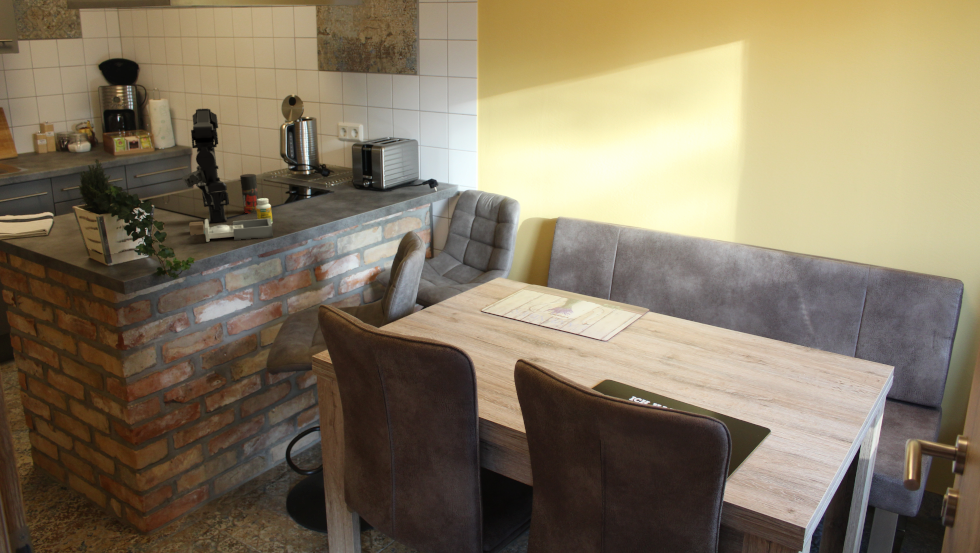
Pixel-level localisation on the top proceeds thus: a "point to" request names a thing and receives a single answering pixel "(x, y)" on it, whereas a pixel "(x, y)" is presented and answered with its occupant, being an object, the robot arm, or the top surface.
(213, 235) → the tray
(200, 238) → the top surface
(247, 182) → the deodorant
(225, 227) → the disc
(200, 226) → the pedestal
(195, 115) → the robot arm
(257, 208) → the supplement bottle
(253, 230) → the housing
